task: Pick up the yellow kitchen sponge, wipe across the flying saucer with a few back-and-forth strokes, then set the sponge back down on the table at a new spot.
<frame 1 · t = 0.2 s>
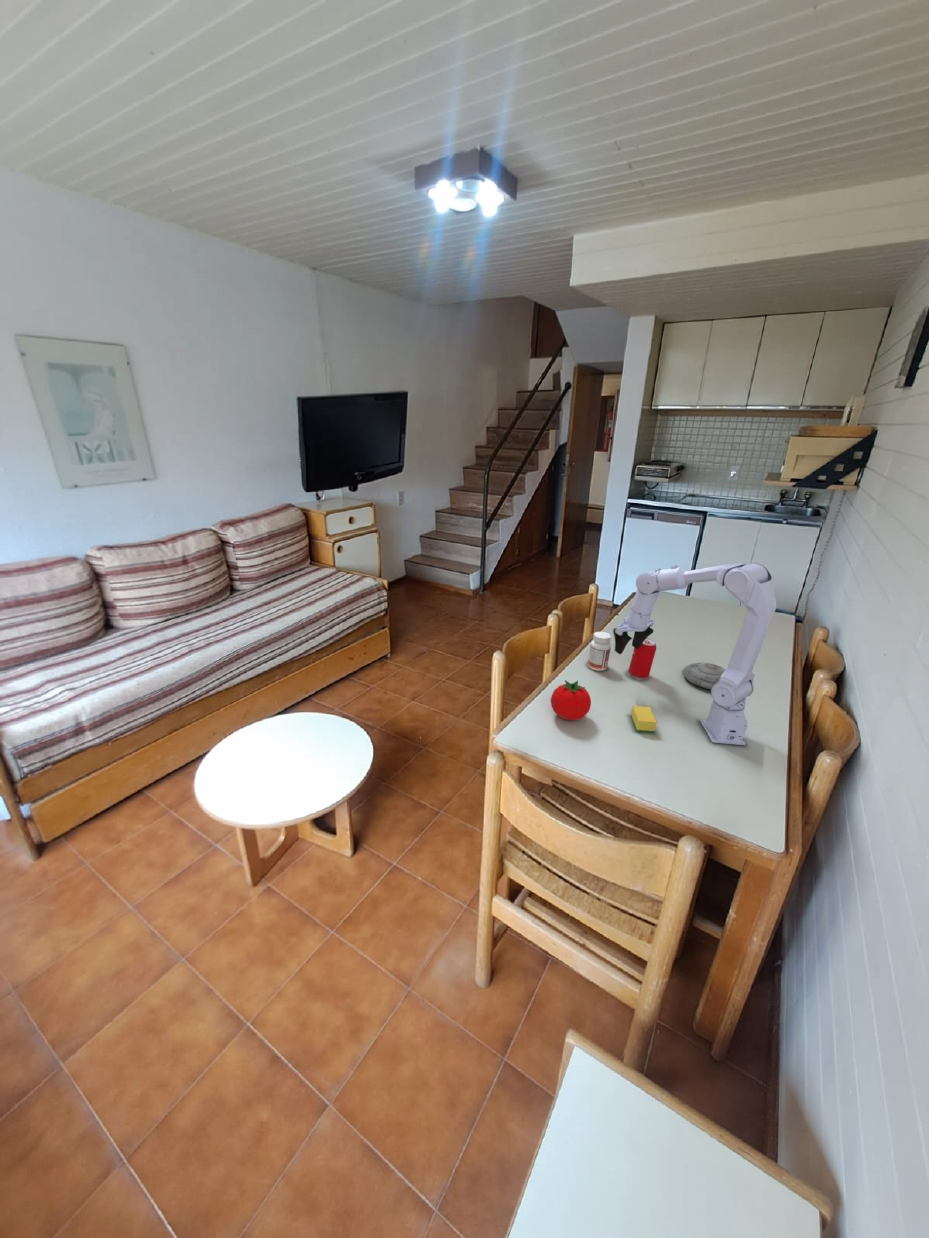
hand: (626, 649, 146), 11 cm above the table, tool pointing down, fingers open, 7 cm apart
sponge: (641, 724, 129), on the table
tomato: (568, 717, 132), on the table
pill bottle: (597, 667, 158), on the table
beverage can: (637, 675, 154), on the table
flying saucer: (707, 681, 152), on the table
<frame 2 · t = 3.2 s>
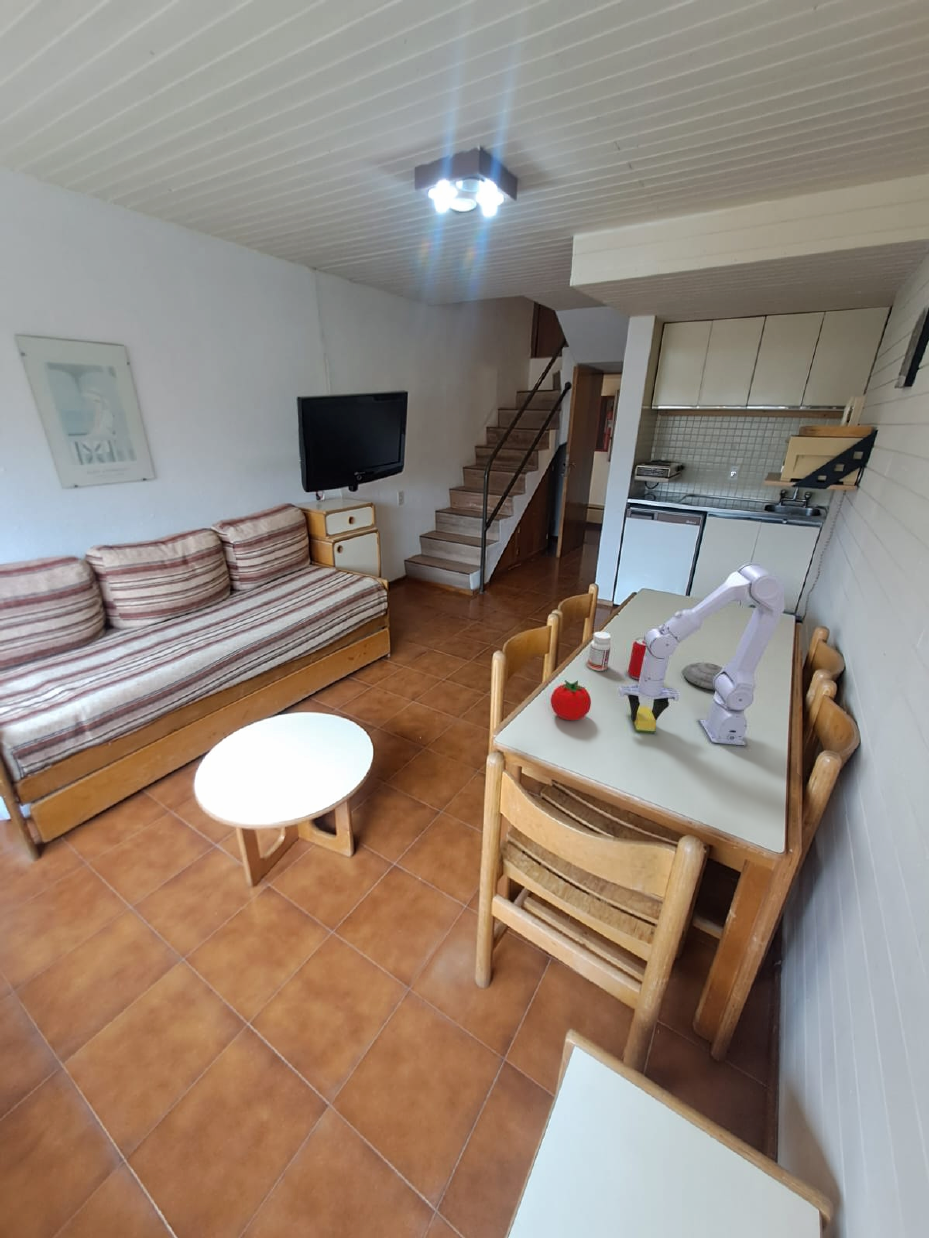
hand: (642, 720, 129), 1 cm above the table, tool pointing down, fingers closed on sponge, 4 cm apart
sponge: (641, 724, 129), on the table, touching gripper
everything else where it was.
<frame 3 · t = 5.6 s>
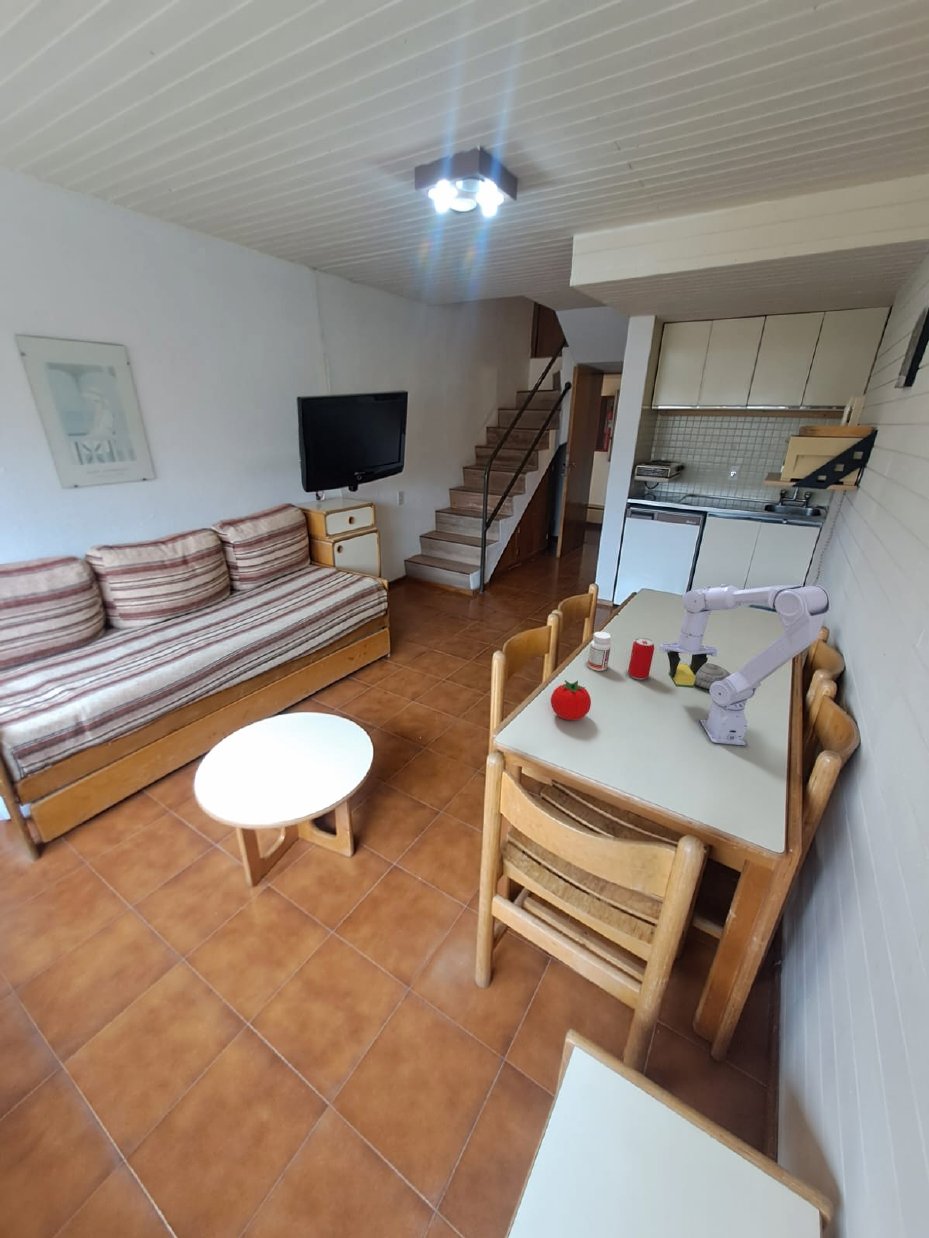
hand: (681, 676, 136), 9 cm above the table, tool pointing down, fingers closed on sponge, 4 cm apart
sponge: (680, 680, 137), point 7 cm above the table, touching gripper
everything else where it was.
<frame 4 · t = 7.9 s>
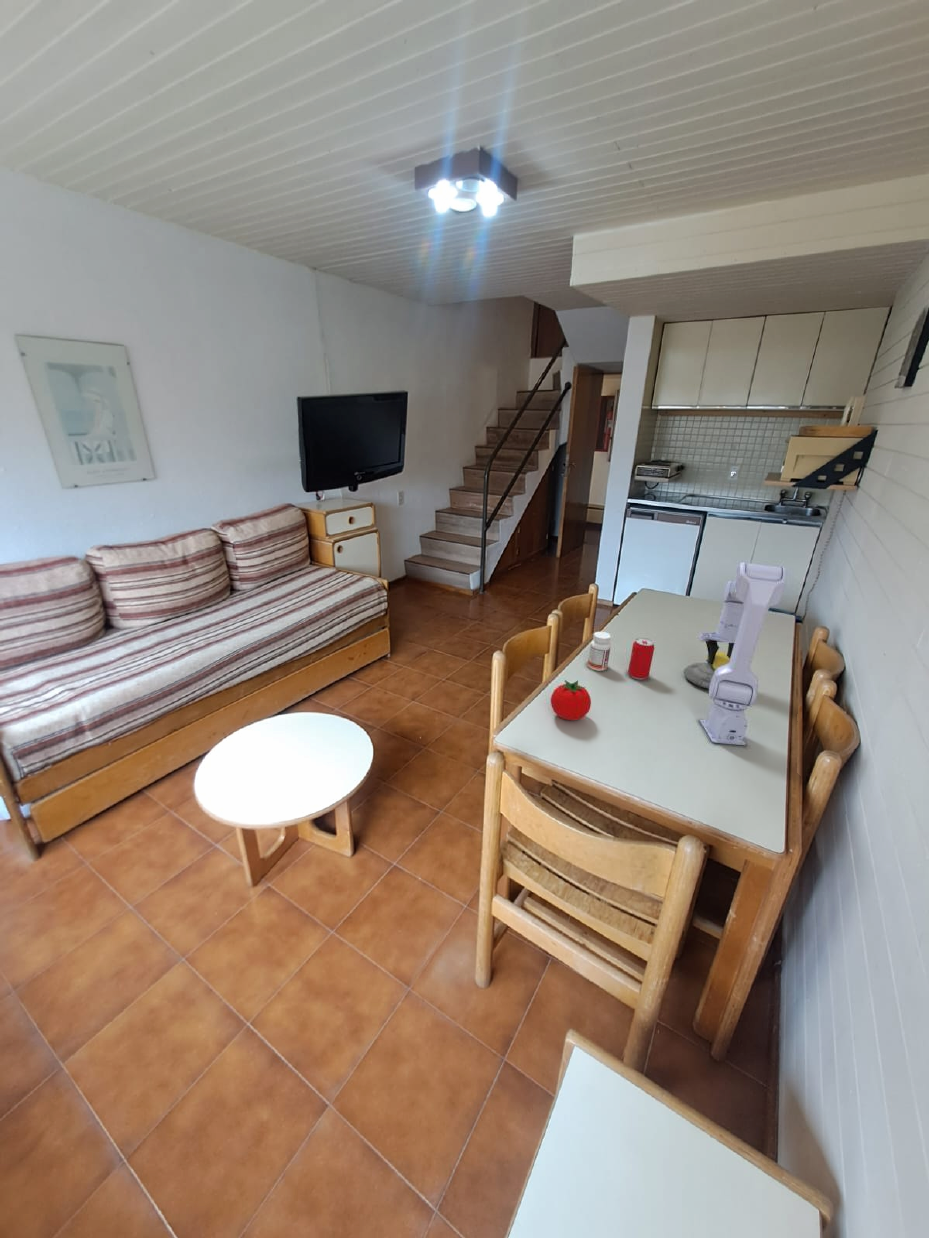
hand: (719, 663, 149), 7 cm above the table, tool pointing down, fingers closed on sponge, 4 cm apart
sponge: (717, 666, 149), point 5 cm above the table, touching gripper, flying saucer
flying saucer: (708, 681, 152), on the table, touching sponge
everything else where it was.
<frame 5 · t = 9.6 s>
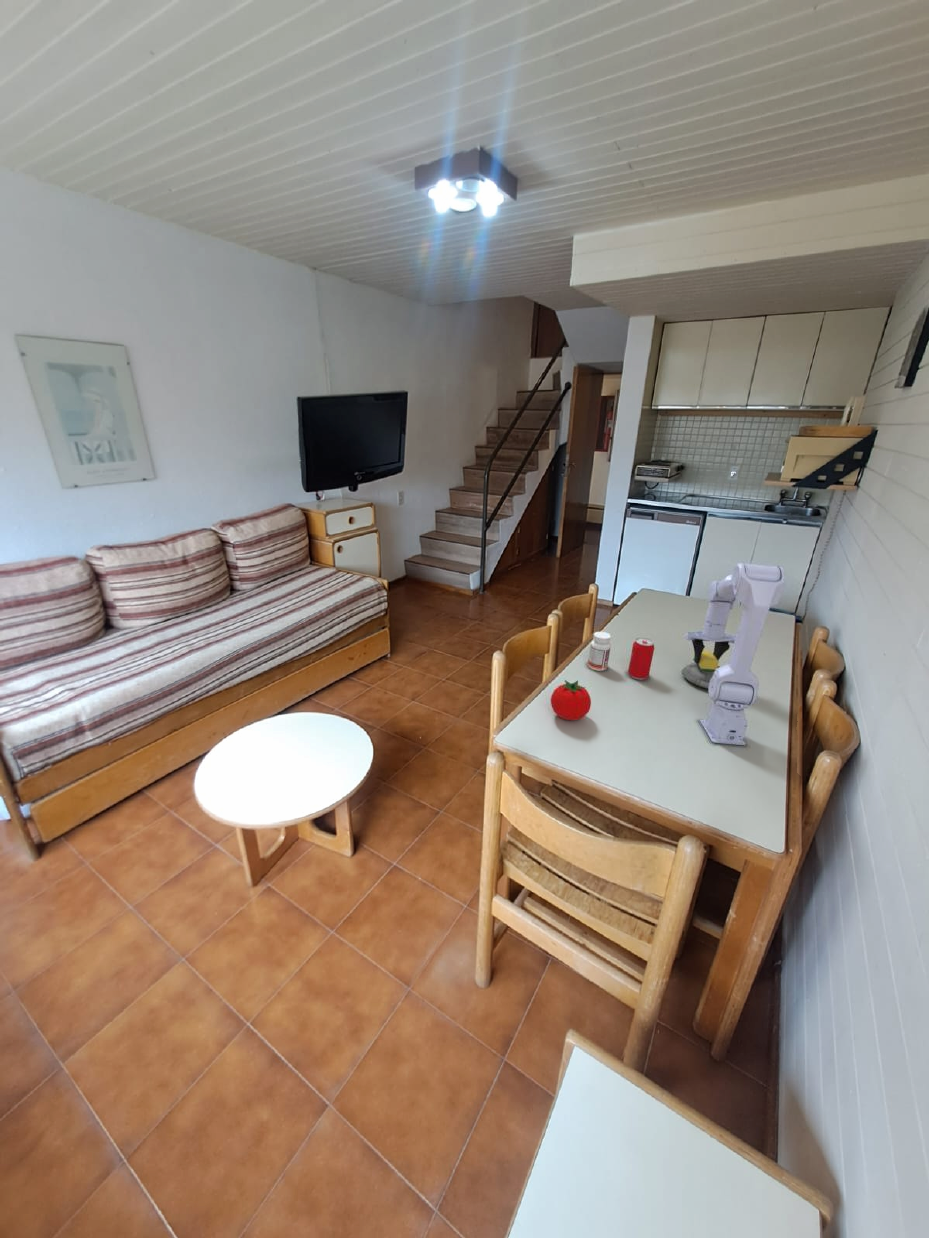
hand: (705, 662, 149), 7 cm above the table, tool pointing down, fingers closed on sponge, 4 cm apart
sponge: (704, 665, 150), point 5 cm above the table, touching gripper
flying saucer: (706, 681, 152), on the table
everything else where it was.
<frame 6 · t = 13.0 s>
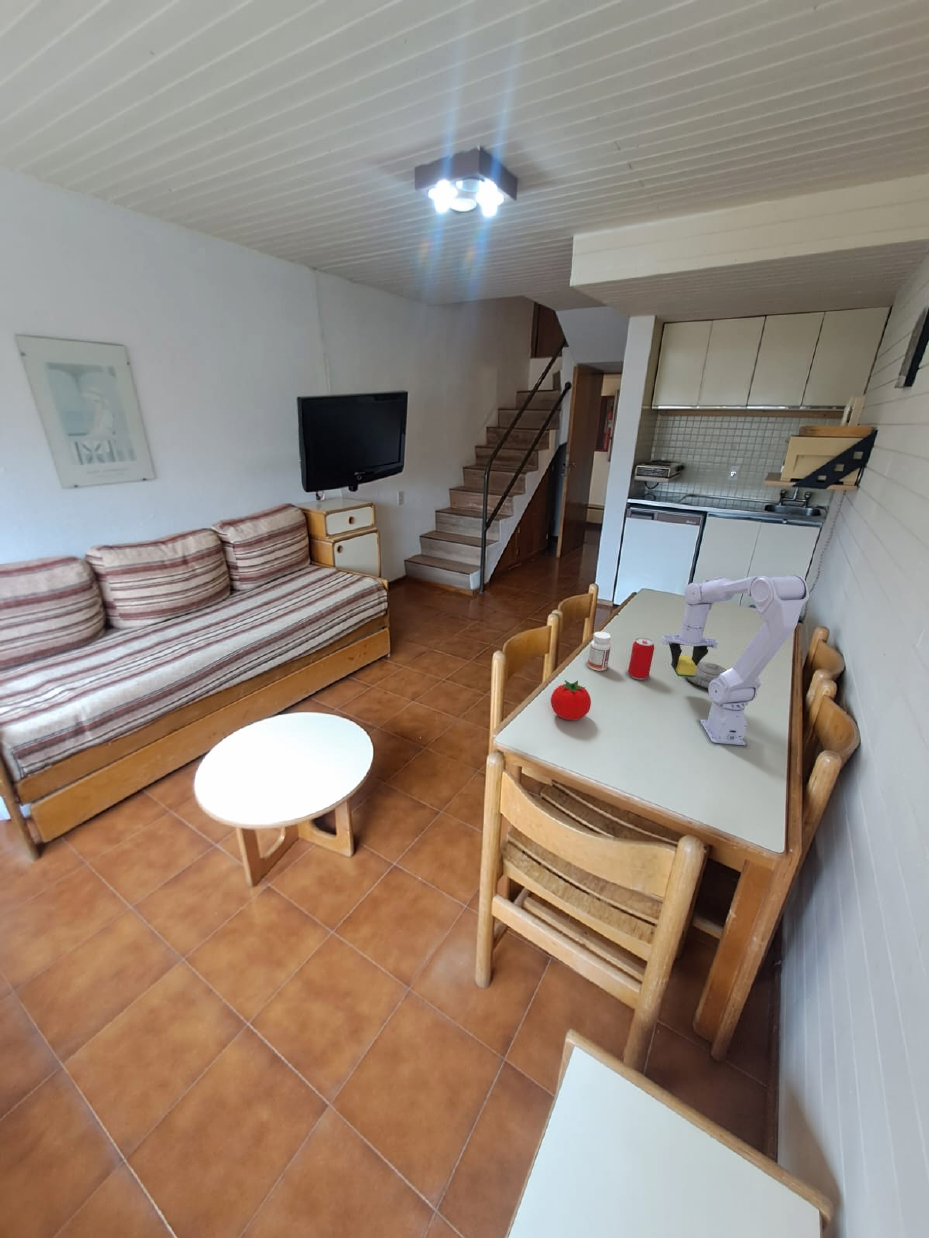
hand: (683, 667, 141), 9 cm above the table, tool pointing down, fingers closed on sponge, 4 cm apart
sponge: (682, 671, 142), point 7 cm above the table, touching gripper
everything else where it was.
when the fingers open (1 cm above the table, at t = 16.0 s): sponge stays where it is, on the table.
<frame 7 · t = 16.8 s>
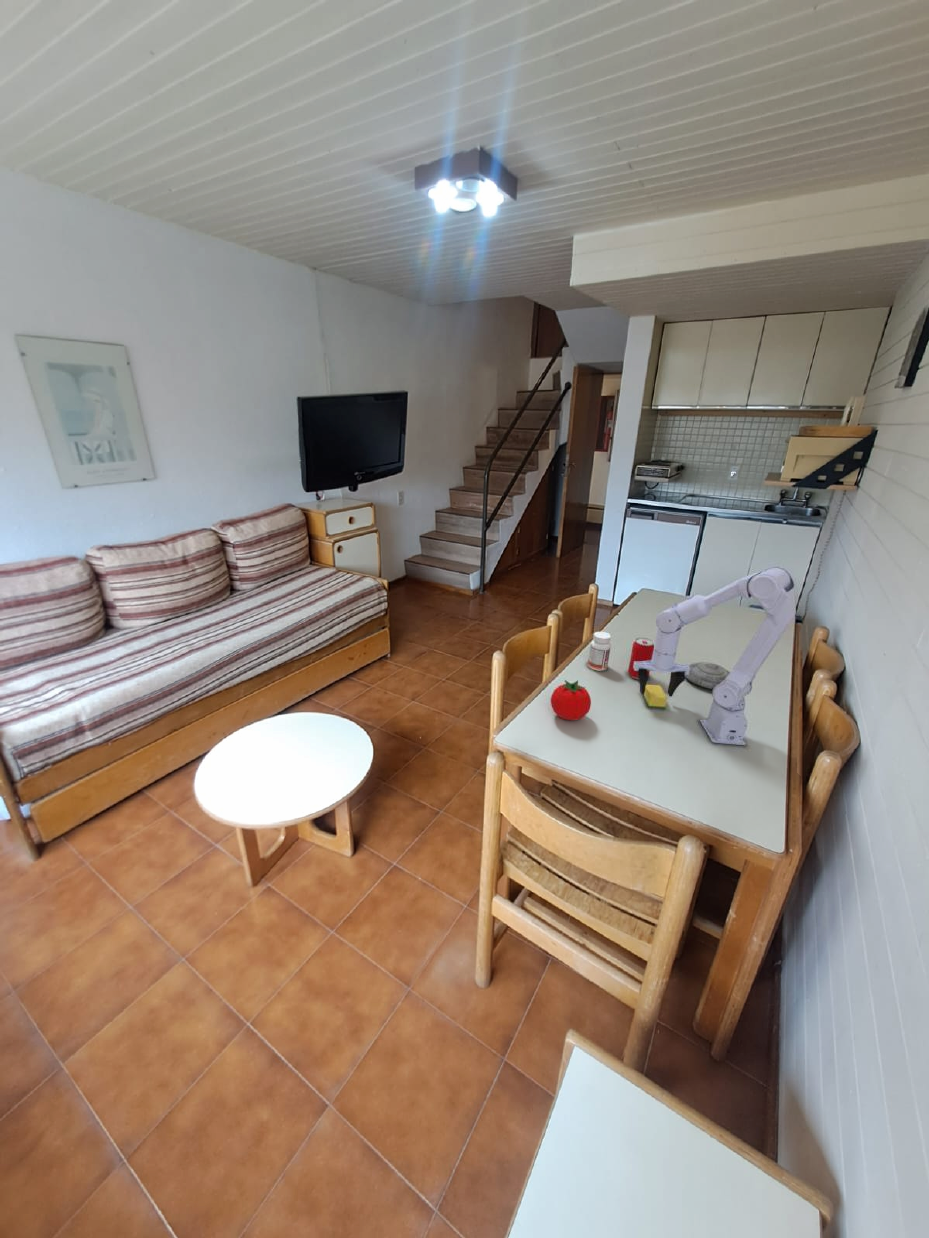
hand: (655, 693, 139), 3 cm above the table, tool pointing down, fingers open, 7 cm apart
sponge: (653, 701, 140), on the table
everything else where it was.
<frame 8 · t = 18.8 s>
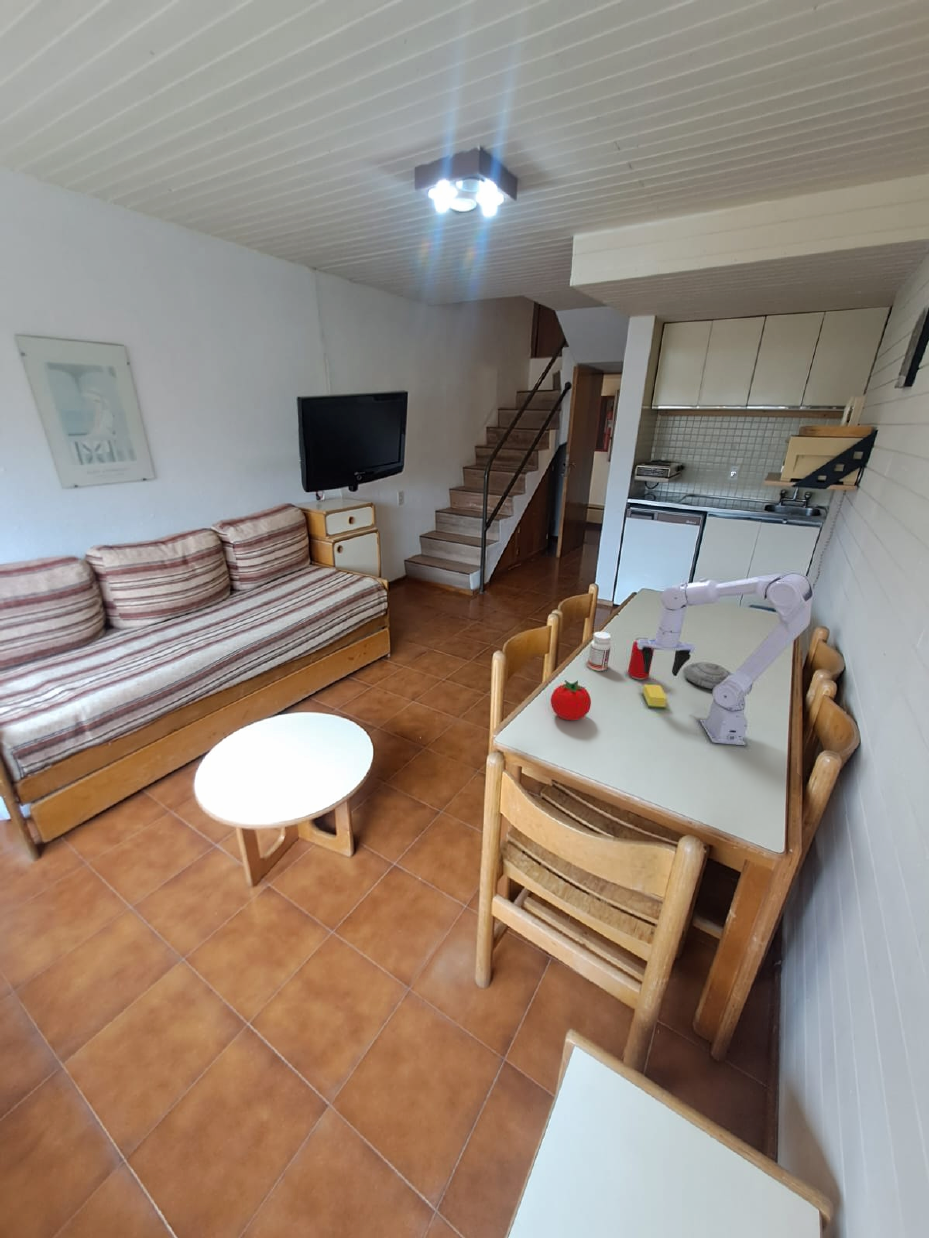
hand: (659, 673, 136), 9 cm above the table, tool pointing down, fingers open, 7 cm apart
nothing on the table moved.
at the end: sponge 0.1 cm from the target spot, on the table; the gripper is holding nothing; flying saucer moved 0.4 cm from its start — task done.
